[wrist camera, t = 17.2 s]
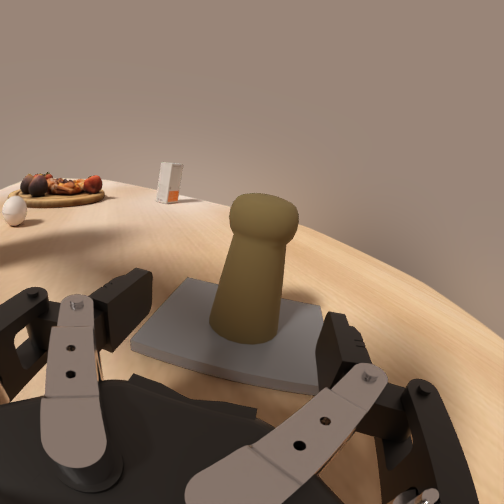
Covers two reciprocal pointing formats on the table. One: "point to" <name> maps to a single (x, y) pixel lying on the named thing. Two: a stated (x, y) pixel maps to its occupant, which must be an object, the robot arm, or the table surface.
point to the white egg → (14, 210)
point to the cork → (254, 269)
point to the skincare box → (169, 182)
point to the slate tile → (228, 352)
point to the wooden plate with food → (58, 191)
